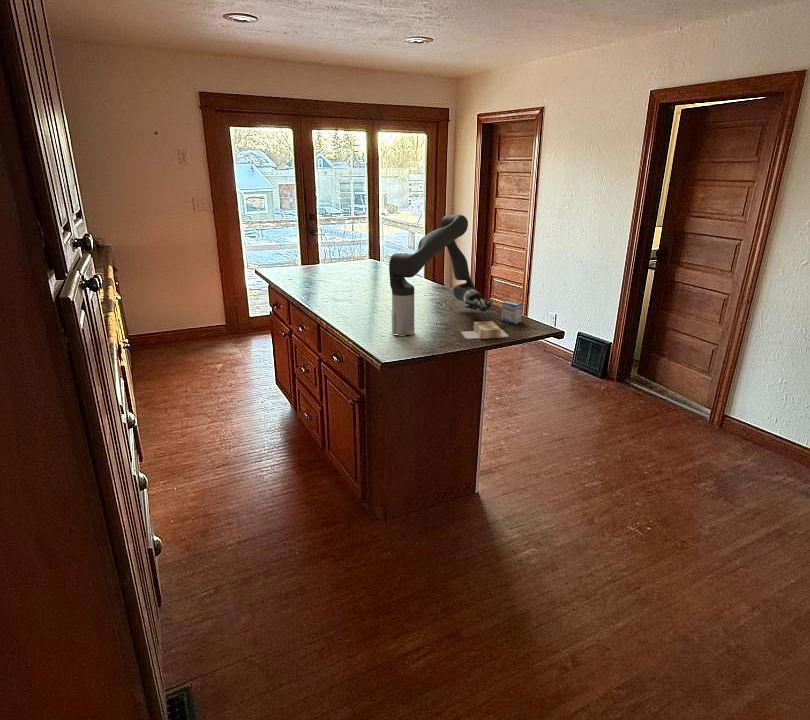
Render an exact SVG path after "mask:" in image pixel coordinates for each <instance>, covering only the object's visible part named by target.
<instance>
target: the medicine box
mask: <svg viewBox="0 0 810 720" xmlns="http://www.w3.org/2000/svg"><path fill="white" fill-rule="evenodd" d="M522 311H523V303H519V302H514V301H511V300H505V301H502V303H501V317H500V320H502V321H501V322H504V321H505V323H509V322H510V324H513V323H514V325H517V324H519V322H520V323H521V321H522ZM516 323H517V324H516Z"/></svg>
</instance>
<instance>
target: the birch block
mask: <svg viewBox="0 0 810 720" xmlns="http://www.w3.org/2000/svg"><path fill="white" fill-rule="evenodd" d="M501 330H502V329H501V328H500V327H499V326H498V325H497V324H496V323H495V322H494V321H493V320H487V321H473V331H475V332H476V333H477V334H478V335H479V336H480V338H481V339H483V340H484V339H499V338H500V339H501V338H502V337H501Z"/></svg>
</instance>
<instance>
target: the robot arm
mask: <svg viewBox="0 0 810 720" xmlns="http://www.w3.org/2000/svg"><path fill="white" fill-rule="evenodd" d="M468 227H469V220H468V218H467V217H466V216H464V215H463V214H452V215H450V214H449V215H445V216H443V217H442V218H441V222H440V228H437V229H434V230H431V231H430V232H428V233H427V234H426V235H424V236H423V237H422V238H421V239H420V240H419V242H418V246H417V248H418V249H417V251H416V252H414V253H411V254H409V253H401V252H395V253H393V254H392V255H391V257H390V258H389V263H388V267H389V269H388V272H389V284H390V285H389V286H390V289H391V333H392V332H393V333H392V335H393V334H398V335H411V334H413V335H414V334H415V287H414V285H413V284H411V283H410V282H409V281H408V280H407V279H409V278H413V277H415V276H417V274H418V273H419V272H420V271H421V270H422V269H423V267H424V266H425V265H426V264H427V263H428V262H430V261H431V260H432V259H433V258H434V257H435V256H437V255H438V254H440V252H442V251H443V250H444V249H445V248H447V251H448V254H449V256H450V260H451V266H452V270H453V271H452V272H453V275H454V279H455V280H456V281H465V282H463V283H459V284H456V285H455V286H454V287H453V292H452V293H453V296H454V297H455V298H456V299H457V300H458V301H462V302H464V308H465V309H471V310H475V311H477V310H478V311H481V312H483V313H484V312H485V313H486V312H487V311H488V310H489V309H490V308H492V307H493V303H494V301H493V300H491V299H490V300H487V299H485V297H484V295H483V294H481V292H479V291H478V290H476V286H475V284H474V282H473V280H472V278H471V275H470V271H469V265H468V261H467V258H466V256H465V254H464V253H463V252H462V251H461V250H460V248H459V246H458V244H457V242H456V240H457V239H459V238H460V237H462V236H463V235H464V234H465V233H466V232H467V230H468ZM406 278H407V279H406ZM411 336H412V335H411Z"/></svg>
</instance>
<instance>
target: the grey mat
mask: <svg viewBox="0 0 810 720" xmlns="http://www.w3.org/2000/svg"><path fill="white" fill-rule="evenodd" d="M460 334H461V335H462V336H463V337H464V339H465V340H478V339H479V340H480V339H481V338H480V336H479V335H478V334H477V333H476V332H475V331H474V330H469V331H468V330H467V331H460ZM509 337H510V335H509V334H508V333H506V332H505V330H503V329H501V338H509Z"/></svg>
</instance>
